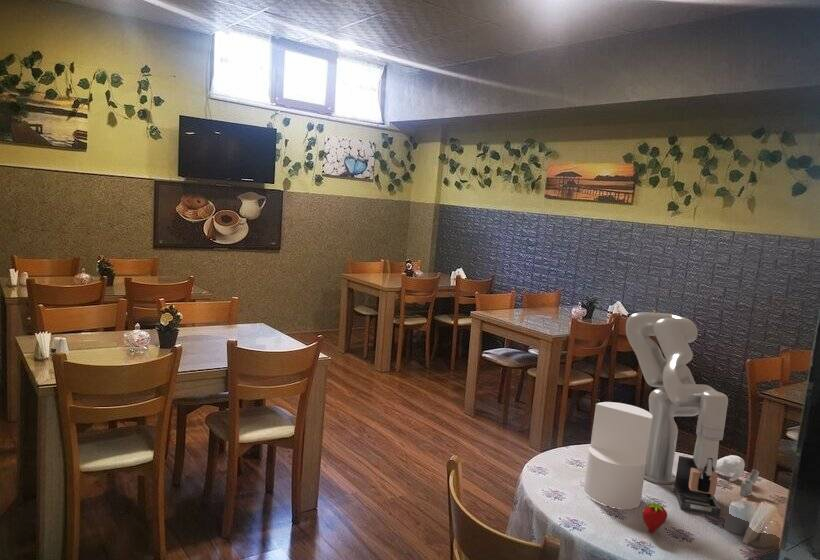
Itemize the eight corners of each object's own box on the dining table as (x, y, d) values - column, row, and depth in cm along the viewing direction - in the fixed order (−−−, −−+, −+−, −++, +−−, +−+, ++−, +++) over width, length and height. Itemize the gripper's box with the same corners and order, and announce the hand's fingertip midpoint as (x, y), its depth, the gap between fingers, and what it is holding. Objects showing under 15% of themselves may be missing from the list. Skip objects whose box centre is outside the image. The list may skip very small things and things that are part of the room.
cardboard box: (690, 490, 188) (693, 471, 188) (688, 485, 192) (690, 467, 191) (715, 494, 187) (717, 476, 186) (712, 490, 190) (715, 471, 189)
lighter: (744, 496, 201) (748, 473, 201) (739, 494, 203) (743, 471, 202) (756, 492, 205) (759, 470, 204) (751, 490, 207) (754, 468, 206)
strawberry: (669, 534, 172) (674, 501, 171) (652, 540, 168) (657, 506, 167) (651, 524, 177) (656, 492, 176) (634, 529, 173) (639, 496, 172)
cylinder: (593, 478, 205) (604, 398, 202) (646, 496, 196) (658, 412, 192) (575, 495, 191) (586, 409, 188) (631, 515, 181) (644, 425, 178)
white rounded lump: (741, 460, 210) (704, 452, 218) (740, 484, 210) (703, 475, 218) (746, 456, 214) (710, 447, 223) (745, 479, 215) (709, 470, 223)
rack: (680, 509, 188) (686, 472, 187) (673, 490, 202) (679, 455, 200) (719, 517, 185) (725, 479, 184) (709, 497, 199) (715, 462, 197)
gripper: (691, 421, 196) (684, 475, 198) (701, 438, 180) (693, 497, 182) (717, 425, 194) (709, 480, 196) (729, 442, 178) (721, 502, 180)
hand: (701, 487), depth 189 cm, fingers closed on cardboard box, 3 cm apart
